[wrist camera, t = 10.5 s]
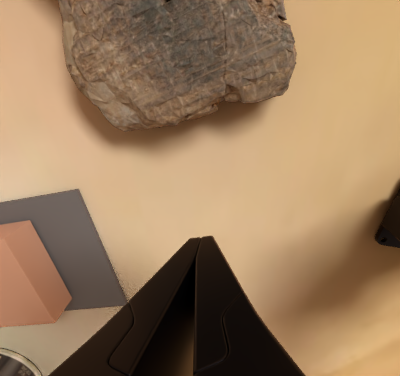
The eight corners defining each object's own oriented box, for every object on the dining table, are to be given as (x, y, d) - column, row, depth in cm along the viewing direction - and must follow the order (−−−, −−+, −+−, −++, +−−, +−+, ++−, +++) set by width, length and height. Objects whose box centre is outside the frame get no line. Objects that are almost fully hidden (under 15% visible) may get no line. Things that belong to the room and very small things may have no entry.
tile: (3, 238, 20) (-82, 251, 22) (54, 322, 24) (-21, 328, 26) (32, 218, 23) (-45, 230, 25) (73, 296, 27) (5, 302, 29)
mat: (78, 188, 22) (76, 190, 22) (127, 302, 27) (126, 305, 27) (-64, 213, 25) (-68, 215, 24) (6, 312, 30) (3, 315, 30)
